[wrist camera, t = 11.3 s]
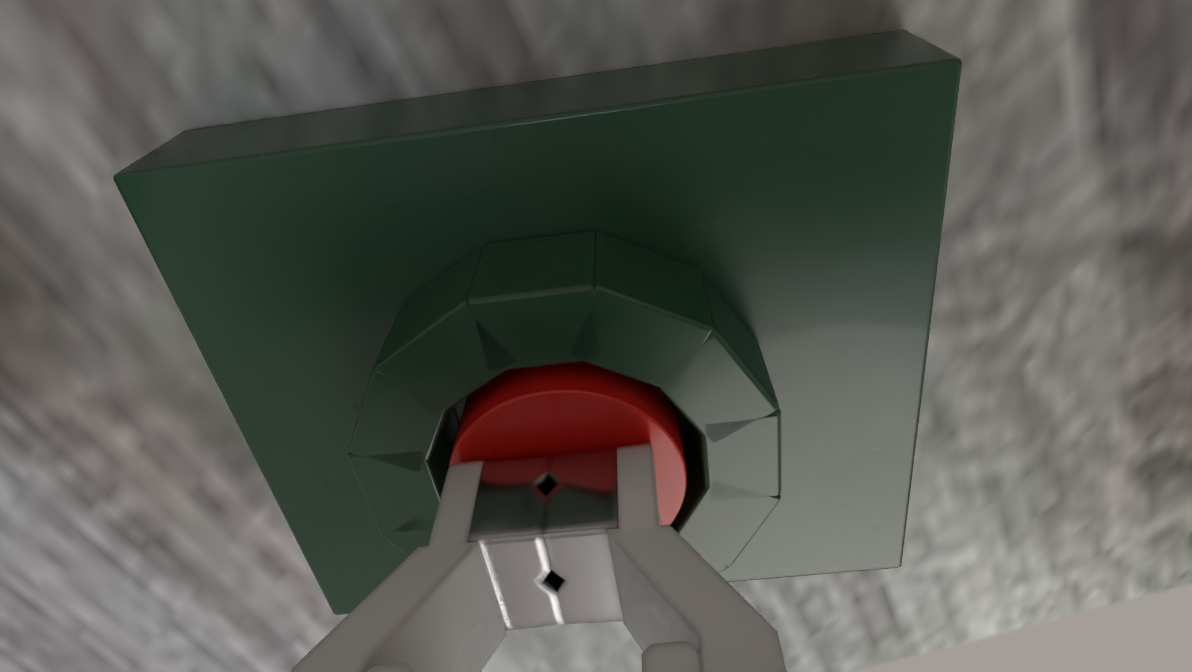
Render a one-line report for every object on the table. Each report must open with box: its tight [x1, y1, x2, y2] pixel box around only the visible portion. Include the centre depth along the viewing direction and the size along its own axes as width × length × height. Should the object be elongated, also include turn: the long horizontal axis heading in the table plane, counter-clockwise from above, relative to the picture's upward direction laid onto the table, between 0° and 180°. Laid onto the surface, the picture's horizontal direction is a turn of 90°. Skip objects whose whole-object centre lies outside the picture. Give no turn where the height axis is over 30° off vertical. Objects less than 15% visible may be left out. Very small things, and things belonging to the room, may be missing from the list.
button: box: [449, 362, 687, 525], centre depth 12 cm, size 4×4×2 cm
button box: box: [114, 30, 962, 615], centre depth 13 cm, size 12×10×4 cm
